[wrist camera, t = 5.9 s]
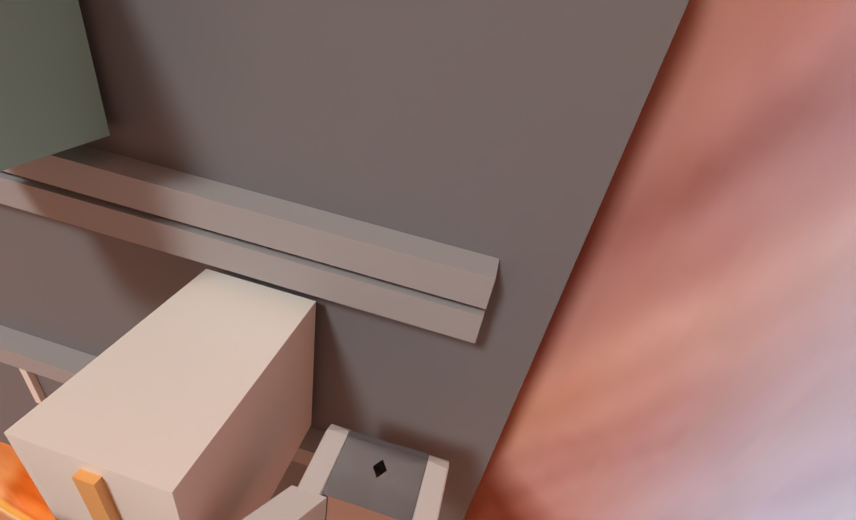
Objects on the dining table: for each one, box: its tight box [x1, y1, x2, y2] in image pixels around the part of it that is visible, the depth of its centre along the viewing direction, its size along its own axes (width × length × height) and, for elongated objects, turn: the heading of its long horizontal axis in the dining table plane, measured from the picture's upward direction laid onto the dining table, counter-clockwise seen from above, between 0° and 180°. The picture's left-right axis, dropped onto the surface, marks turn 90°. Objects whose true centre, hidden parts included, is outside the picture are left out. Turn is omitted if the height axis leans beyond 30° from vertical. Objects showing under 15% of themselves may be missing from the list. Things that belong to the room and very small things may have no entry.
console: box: [0, 0, 689, 520], centre depth 13 cm, size 30×24×4 cm
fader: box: [4, 269, 316, 520], centre depth 10 cm, size 3×5×5 cm, turn 170°
